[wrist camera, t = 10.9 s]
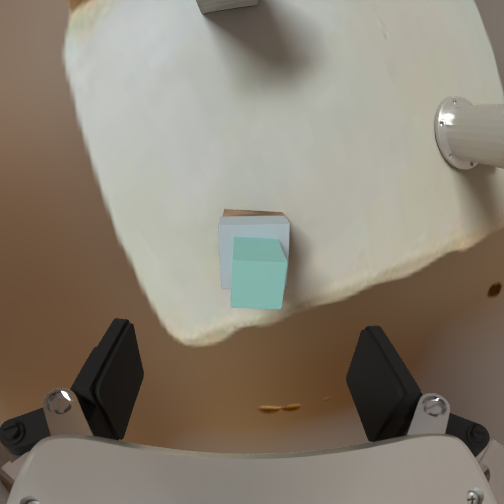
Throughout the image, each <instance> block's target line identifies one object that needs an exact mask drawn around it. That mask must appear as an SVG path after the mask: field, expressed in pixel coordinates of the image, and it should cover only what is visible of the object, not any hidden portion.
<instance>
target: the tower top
mask: <svg viewBox="0 0 504 504" xmlns="http://www.w3.org/2000/svg"><path fill="white" fill-rule="evenodd" d="M218 233H219V254H220V273H221V289H231V282H232V259H233V239H234V236H235V237H255V238H274V239H278V240H279V243H280V245H281V248H282V250H283V253H284V255H285V258H286V260H287V270H286V278H285V286H284V288H287V281H288V259H289V233H290V224H289V222H288V220H287V219H286V217H285V216H230V217H220V220H219V224H218Z"/></svg>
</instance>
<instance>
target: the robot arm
mask: <svg viewBox="0 0 504 504" xmlns="http://www.w3.org/2000/svg"><path fill="white" fill-rule="evenodd" d="M435 134H436V139H437V143H438V146H439V148H440V151H441V153H442V154H443V156H444V158H445V159H446V160H447V161H448V162H449V163H450V164H451V165H452V166H454V167H456V168H458V169H462V170H468V169H472V168H473V167H475V166H476V165H477V164H478V163H479V164H484V165H489V166H493V167H498V168H502V169H504V104H483V105H473V104H472V103H471V102H470V101H468V100H467V99H465V98H462V97H450V98H447V99H446V100H444V101H443V102H442V103H441V105H440V106H439V108H438V110H437V114H436V118H435ZM143 376H144V371H143V367H142V363H141V358H140V354H139V350H138V344H137V340H136V335H135V330H134V325H133V324H131V323H130V322H129V320H127V319H118V318H115V319H114V320H113V322H112V323H111V325H110V327H109V328H108V330H107V331H106V333H105V335H104V336H103V338H102V340H101V342H100V343H99V345H98V346H97V347H95V348H94V349H93V351H92V352H91V354H90V355H89V357H88V359H87V361H86V362H85V364H84V366H83V368H82V369H81V371H80V373H79V374H78V376H77V378H76V380H75V382H74V384H73V385H72V387H71V389H70V390H69V389H66V388H58V389H54V390H52V391H50V392H49V393H48V394H47V395H46V396H45V398H44V400H43V408H40V409H38V410H35V411H32V412H30V413H27V414H24V415H21V416H18V417H15V418H12V419H9V420H7V421H5V422H4V423H3V424H2V425H1V427H0V504H504V447H503V446H502V445H500V444H499V443H498V442H496V441H495V440H492V441H489V433H488V431H487V430H486V428H484V427H483V426H482V425H480V424H477V423H475V422H472V421H470V420H467V419H464V418H462V417H459V416H456V415H454V414H451V413H450V406H449V403H448V402H447V400H446V399H445V398H443V397H442V396H440V395H438V394H434V393H428V394H425V395H422V393H421V392H420V391H421V390H420V388H419V387H418V385H417V383H416V382H415V380H414V379H413V377H412V375H411V374H410V372H409V370H408V369H407V367H406V366H405V364H404V362H403V361H402V359H401V358H400V356H399V354H398V353H397V351H396V350H395V348H394V347H393V345H392V344H391V342H390V340H389V339H388V337H387V336H386V334H385V333H384V331H383V330H382V328H381V327H380V326H367V327H366V328H365V329H364V330H362V331H361V333H360V337H359V340H358V343H357V346H356V349H355V352H354V355H353V358H352V361H351V364H350V367H349V370H348V373H347V376H346V381H347V385H348V387H349V390H350V392H351V395H352V397H353V400H354V403H355V406H356V408H357V411H358V414H359V416H360V419H361V422H362V424H363V427H364V430H365V433H366V435H367V438H368V440H369V441H370V442H371V441H372V442H371V443H365V444H360V445H353V446H347V447H341V448H333V449H325V450H316V451H307V452H293V453H275V454H227V453H226V454H225V453H207V452H194V451H184V450H175V449H167V448H160V447H154V446H147V445H141V444H135V443H129V442H124V441H119V439H121V440H122V439H123V438H124V435H125V432H126V429H127V425H128V422H129V419H130V416H131V413H132V410H133V407H134V404H135V401H136V398H137V395H138V392H139V389H140V386H141V383H142V380H143Z"/></svg>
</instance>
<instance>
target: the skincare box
mask: <svg viewBox="0 0 504 504" xmlns="http://www.w3.org/2000/svg"><path fill="white" fill-rule="evenodd" d="M196 1H197V4H198V6H199V9H200V11H201V13H202V14H204V13H209V12H214V11H219V10H225V9H231V8H238V7H246V6H254V5H258V3H259V0H196Z"/></svg>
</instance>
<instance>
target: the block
mask: <svg viewBox="0 0 504 504" xmlns="http://www.w3.org/2000/svg"><path fill="white" fill-rule="evenodd" d="M286 270H287V260H286V258H285V255H284V253H283V250H282V248H281V245H280V243H279V240H278V239H274V238H255V237H235V236H234V239H233V259H232V282H231V306H230V308H255V309H281V308H282V301H283V294H284V286H285V278H286Z"/></svg>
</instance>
